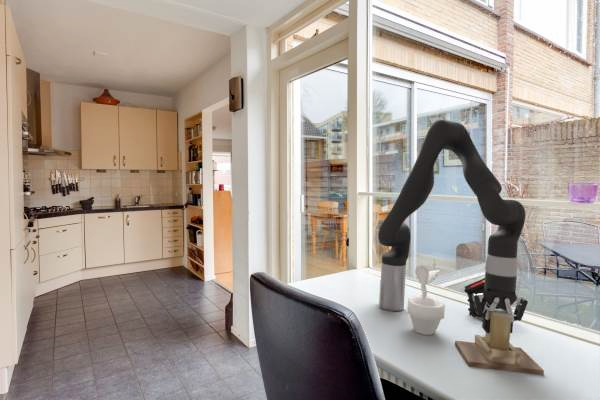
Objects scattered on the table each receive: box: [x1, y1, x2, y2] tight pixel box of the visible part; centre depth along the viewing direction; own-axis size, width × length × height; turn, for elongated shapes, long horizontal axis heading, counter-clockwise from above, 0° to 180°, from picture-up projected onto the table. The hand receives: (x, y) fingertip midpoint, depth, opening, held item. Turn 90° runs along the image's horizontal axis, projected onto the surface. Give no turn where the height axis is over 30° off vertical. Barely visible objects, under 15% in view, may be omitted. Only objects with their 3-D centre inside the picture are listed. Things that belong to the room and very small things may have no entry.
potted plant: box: [406, 258, 446, 336], centre depth 113 cm, size 13×12×25 cm
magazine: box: [463, 277, 486, 318], centre depth 130 cm, size 4×13×15 cm, turn 92°
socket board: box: [454, 334, 545, 376], centre depth 96 cm, size 18×13×4 cm
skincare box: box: [484, 309, 511, 351], centre depth 96 cm, size 6×4×12 cm
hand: (496, 332), depth 96 cm, fingers open, 4 cm apart
